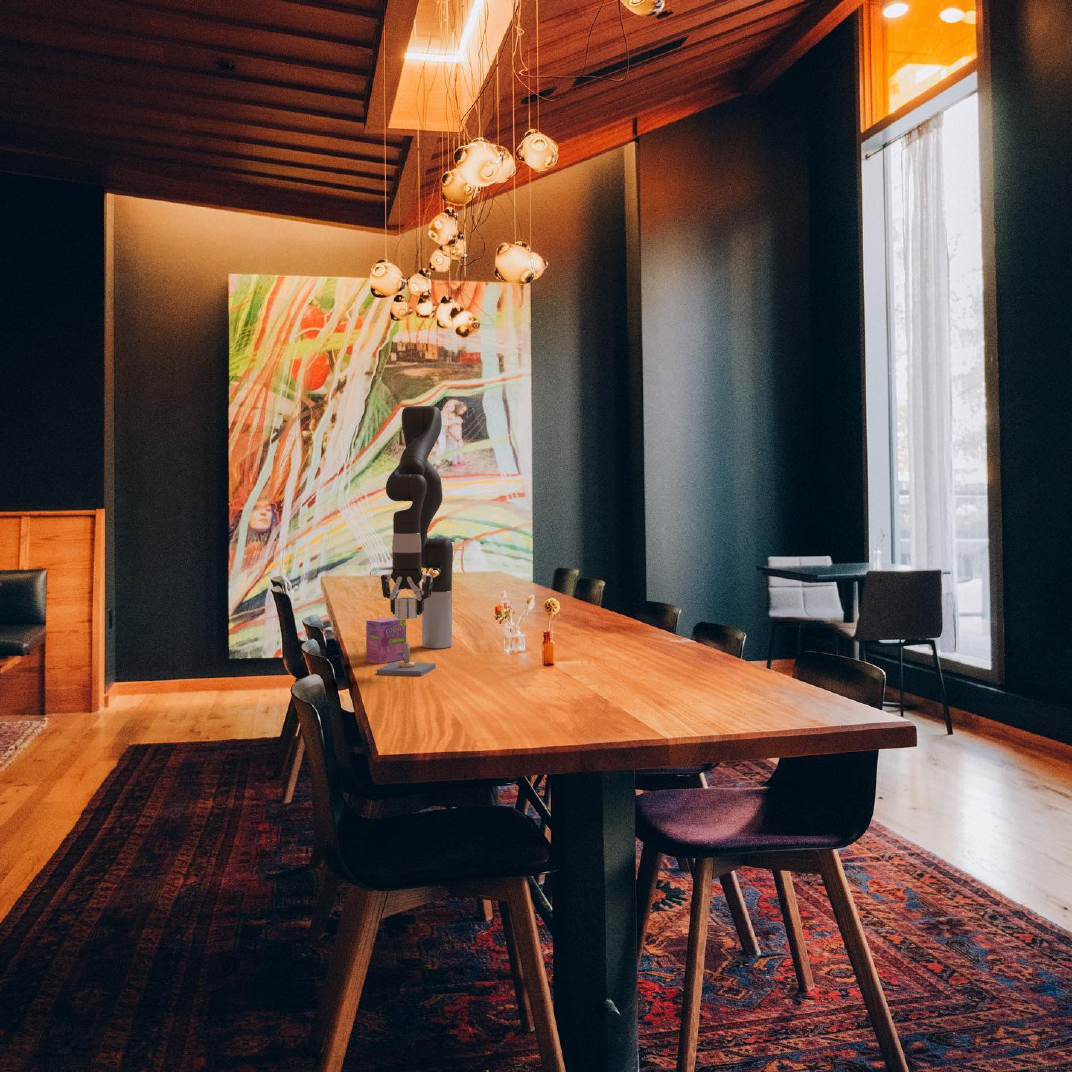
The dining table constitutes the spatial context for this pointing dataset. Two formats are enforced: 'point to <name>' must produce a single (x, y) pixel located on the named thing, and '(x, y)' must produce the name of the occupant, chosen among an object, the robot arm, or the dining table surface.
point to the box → (385, 640)
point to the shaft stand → (406, 666)
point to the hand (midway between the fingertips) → (407, 614)
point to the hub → (406, 608)
